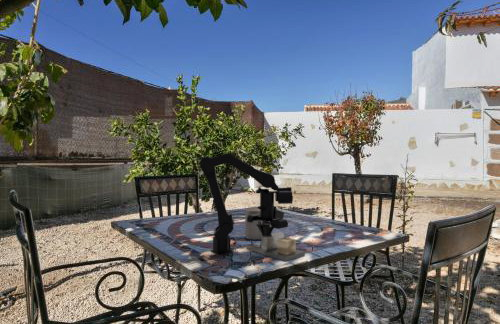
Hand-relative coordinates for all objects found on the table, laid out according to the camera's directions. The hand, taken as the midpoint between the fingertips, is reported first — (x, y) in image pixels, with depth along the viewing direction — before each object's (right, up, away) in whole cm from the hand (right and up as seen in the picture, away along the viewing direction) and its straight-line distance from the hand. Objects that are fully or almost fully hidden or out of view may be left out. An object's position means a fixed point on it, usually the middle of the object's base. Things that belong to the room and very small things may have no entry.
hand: (266, 241), depth 148 cm
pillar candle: (-4, -3, +23) cm, 24 cm away
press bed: (+3, -4, -3) cm, 6 cm away
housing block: (+7, -2, -8) cm, 11 cm away
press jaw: (+2, -2, -3) cm, 4 cm away
